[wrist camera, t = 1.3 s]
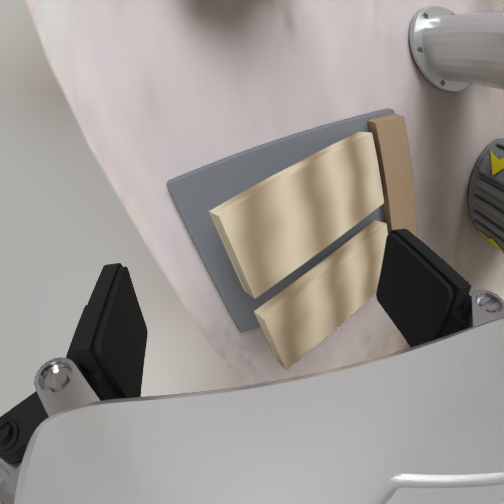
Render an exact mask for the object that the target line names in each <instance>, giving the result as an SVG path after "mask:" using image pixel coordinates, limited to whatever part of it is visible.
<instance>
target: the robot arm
mask: <svg viewBox="0 0 504 504" xmlns="http://www.w3.org/2000/svg"><path fill="white" fill-rule="evenodd" d="M409 38H410V46H411V51H412V54H413V57H414V60H415V62H416V64H417V66H418V68H419V70H420V71H421V72H422V74H423V75H424V77H425V78H426V79H427V80H428V81H429V82H430V83H432V84H433V85H434V86H436V87H438V88H440V89H442V90H446V91H452V92H457V91H461V90H463V89H465V88H466V87H468V86H469V85H470V84H476V85H482V86H487V87H492V88H498V89H502V90H504V11H501V12H477V13H464V14H455V13H453V12H452V11H450V10H448V9H446V8H444V7H439V6H430V7H426V8H423V9H422V10H420V11H419V12H418V13H417V14H416V15H415V16H414V18H413V20H412V22H411V26H410V34H409ZM470 288H471V285H470V284H469V283H468V282H467V281H466V280H465V279H463V278H462V277H461V276H460V275H459V274H458V273H457V272H456V271H455V270H454V269H453V268H452V267H450V266H449V265H448V264H447V263H446V262H445V261H444V260H443V259H442V258H440V257H439V256H438V255H437V254H436V253H435V252H434V251H432V250H431V249H430V248H429V247H428V246H427V245H425V244H424V243H423V242H422V241H421V240H420V239H418V238H417V237H416V236H415V235H414V234H412V233H411V232H410V231H409V230H407V229H396V230H392V231H391V232H390V234H388V235H387V238H386V244H385V250H384V256H383V261H382V267H381V272H380V277H379V282H378V287H377V293H376V296H377V300H378V302H379V303H380V304H381V306H382V307H383V309H384V310H385V311H386V313H387V314H388V315H389V317H390V318H391V320H392V321H393V322H394V324H395V325H396V327H397V328H398V329H399V331H400V332H401V334H402V335H403V337H404V338H405V339H406V341H407V342H408V344H409V345H410V347H411V348H409V349H405V350H402V351H399V352H395V353H392V354H389V355H385V356H382V357H378V358H375V359H371V360H367V361H363V362H360V363H356V364H352V365H348V366H344V367H340V368H336V369H331V370H327V371H323V372H318V373H313V374H309V375H304V376H299V377H294V378H289V379H283V380H278V381H272V382H267V383H261V384H254V385H248V386H242V387H234V388H227V389H219V390H211V391H202V392H192V393H183V394H174V395H173V394H172V395H162V396H161V395H160V396H148V397H140V394H141V384H142V375H143V366H144V358H145V357H144V356H145V349H146V342H147V327H146V324H145V321H144V318H143V316H142V312H141V309H140V306H139V303H138V301H137V297H136V294H135V291H134V287H133V284H132V281H131V278H130V274H129V271H128V268H127V267H123V266H122V265H121V264H120V263H117V264H109V265H105V266H104V267H103V269H102V272H101V274H100V276H99V278H98V281H97V283H96V285H95V288H94V290H93V293H92V295H91V297H90V300H89V302H88V305H86V306H85V308H84V310H83V313H82V315H81V318H80V320H79V323H78V325H77V328H76V331H75V334H74V336H73V339H72V342H71V345H70V347H69V350H68V353H67V356H66V358H55V359H52V360H50V361H48V362H46V363H45V364H44V365H42V366H41V367H40V369H39V370H38V371H37V374H36V376H35V380H34V385H35V389H36V392H35V393H33V394H32V395H30V396H29V397H28V398H26V399H25V400H23V401H22V402H21V403H19V404H18V405H17V406H15V407H14V408H12V409H11V410H10V411H9V412H7V413H6V414H4V415H3V416H1V417H0V504H504V302H503V300H502V299H501V298H500V297H499V296H498V295H496V294H494V293H493V292H490V291H487V290H477V291H475V292H474V293H473V294H472V296H470V295H469V291H470Z"/></svg>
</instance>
